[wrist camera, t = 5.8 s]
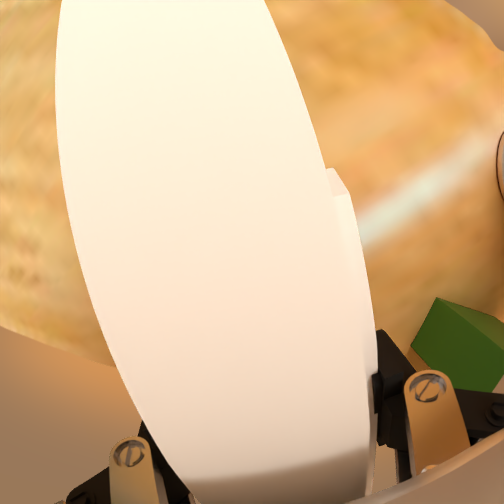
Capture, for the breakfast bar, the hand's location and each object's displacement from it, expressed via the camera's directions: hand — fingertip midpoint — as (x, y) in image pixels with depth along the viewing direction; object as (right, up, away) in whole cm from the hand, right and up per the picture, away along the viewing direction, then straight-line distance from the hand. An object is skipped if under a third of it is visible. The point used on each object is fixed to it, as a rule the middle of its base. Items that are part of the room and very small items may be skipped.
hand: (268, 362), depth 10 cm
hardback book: (+30, -8, +25) cm, 40 cm away
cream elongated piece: (0, +1, +4) cm, 4 cm away
